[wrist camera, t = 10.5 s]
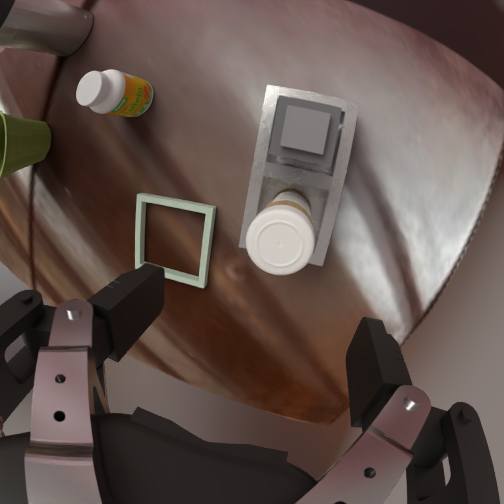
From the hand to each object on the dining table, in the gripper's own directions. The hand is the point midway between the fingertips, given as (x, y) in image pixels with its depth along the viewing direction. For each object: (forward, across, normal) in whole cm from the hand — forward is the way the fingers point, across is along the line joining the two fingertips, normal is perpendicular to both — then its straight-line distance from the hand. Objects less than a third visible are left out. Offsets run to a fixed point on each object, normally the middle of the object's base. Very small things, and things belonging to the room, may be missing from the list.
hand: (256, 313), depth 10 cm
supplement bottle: (+22, +22, -11) cm, 33 cm away
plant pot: (+22, +44, -5) cm, 49 cm away
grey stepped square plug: (+22, 0, -8) cm, 23 cm away
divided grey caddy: (+22, 0, -4) cm, 22 cm away
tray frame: (+22, +14, +7) cm, 27 cm away
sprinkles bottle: (+22, 0, 0) cm, 22 cm away
